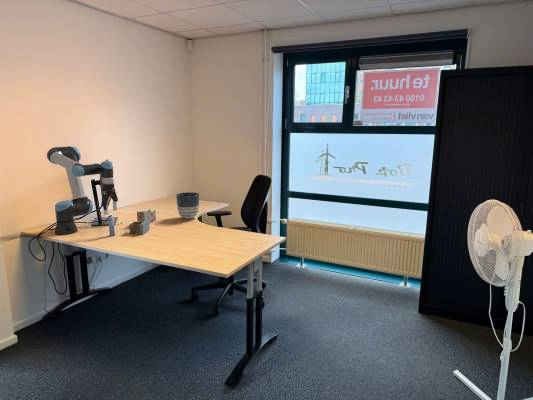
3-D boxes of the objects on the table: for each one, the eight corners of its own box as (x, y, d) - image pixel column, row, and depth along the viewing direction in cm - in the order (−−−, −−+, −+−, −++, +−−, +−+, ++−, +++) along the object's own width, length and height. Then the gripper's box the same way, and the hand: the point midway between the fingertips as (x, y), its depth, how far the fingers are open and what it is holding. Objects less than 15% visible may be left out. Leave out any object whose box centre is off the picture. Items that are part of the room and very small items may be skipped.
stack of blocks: (149, 220, 319) (148, 206, 317) (156, 220, 319) (155, 206, 316) (137, 226, 299) (136, 211, 296) (144, 226, 298) (144, 211, 295)
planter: (173, 217, 328) (172, 193, 324) (193, 214, 340) (192, 191, 336) (183, 222, 313) (182, 197, 309) (203, 218, 325) (203, 194, 320)
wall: (140, 234, 276) (140, 224, 274) (146, 230, 288) (146, 220, 286) (143, 234, 276) (142, 224, 274) (149, 230, 288) (148, 220, 286)
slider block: (129, 233, 278) (129, 224, 277) (134, 230, 287) (134, 221, 286) (141, 234, 277) (140, 225, 276) (146, 230, 286) (145, 222, 285)
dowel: (108, 236, 271) (107, 217, 269) (111, 234, 275) (109, 216, 272) (113, 236, 271) (112, 217, 268) (115, 235, 275) (114, 216, 272)
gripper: (104, 185, 253) (107, 216, 257) (121, 180, 278) (123, 208, 281) (94, 185, 254) (96, 216, 258) (111, 180, 278) (113, 208, 282)
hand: (110, 212), depth 270 cm, fingers open, 13 cm apart
